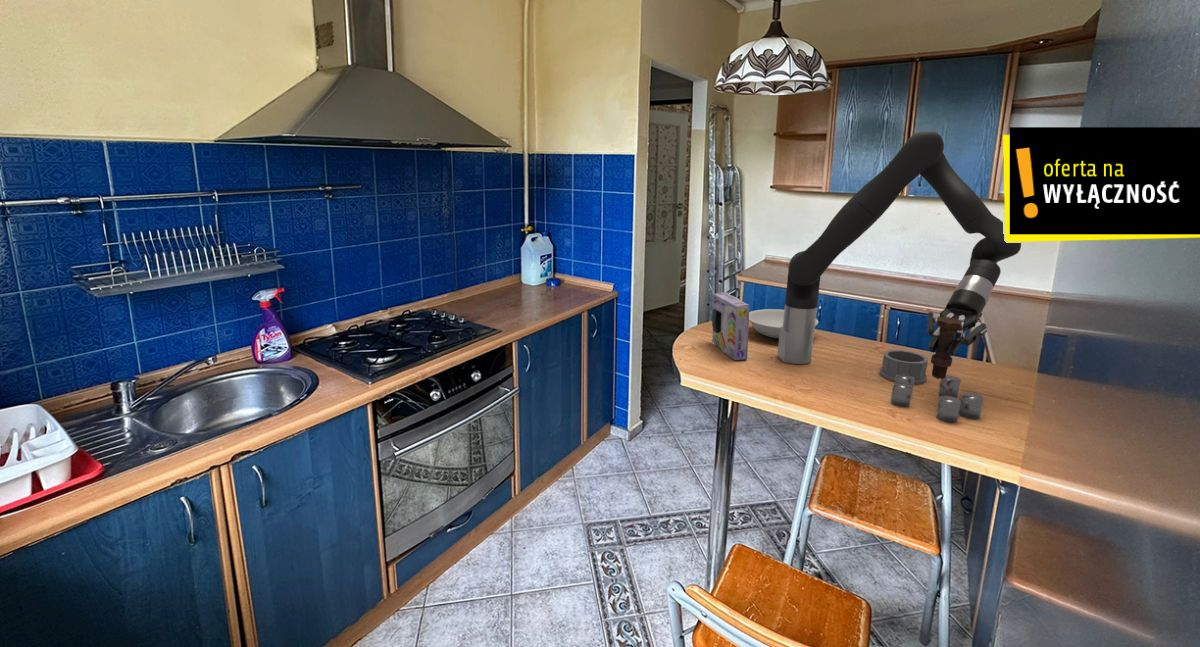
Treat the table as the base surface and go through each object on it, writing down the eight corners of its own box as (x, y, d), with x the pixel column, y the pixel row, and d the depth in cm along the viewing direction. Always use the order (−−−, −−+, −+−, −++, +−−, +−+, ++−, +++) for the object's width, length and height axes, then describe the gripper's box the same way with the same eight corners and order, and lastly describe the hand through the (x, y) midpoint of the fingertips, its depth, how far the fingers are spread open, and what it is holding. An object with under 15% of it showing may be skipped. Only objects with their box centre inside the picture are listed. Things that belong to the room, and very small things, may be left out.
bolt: (945, 374, 145) (957, 317, 140) (955, 381, 140) (967, 323, 135) (921, 372, 145) (932, 316, 141) (930, 380, 140) (942, 322, 136)
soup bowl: (738, 325, 210) (739, 308, 209) (803, 326, 210) (805, 309, 208) (752, 346, 187) (754, 327, 186) (826, 347, 187) (828, 328, 185)
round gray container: (892, 384, 157) (895, 363, 155) (871, 368, 168) (874, 349, 167) (935, 384, 157) (939, 363, 155) (911, 368, 168) (914, 349, 167)
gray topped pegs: (915, 422, 134) (918, 403, 133) (876, 390, 152) (878, 373, 151) (995, 422, 134) (1000, 403, 133) (947, 390, 153) (950, 373, 151)
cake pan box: (709, 342, 191) (712, 291, 186) (723, 341, 192) (726, 290, 187) (732, 362, 173) (736, 305, 168) (748, 361, 174) (752, 305, 169)
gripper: (937, 283, 146) (907, 337, 142) (1000, 294, 135) (969, 352, 132) (942, 300, 151) (913, 352, 147) (1003, 312, 140) (973, 369, 136)
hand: (940, 352), depth 139 cm, fingers closed on bolt, 3 cm apart
